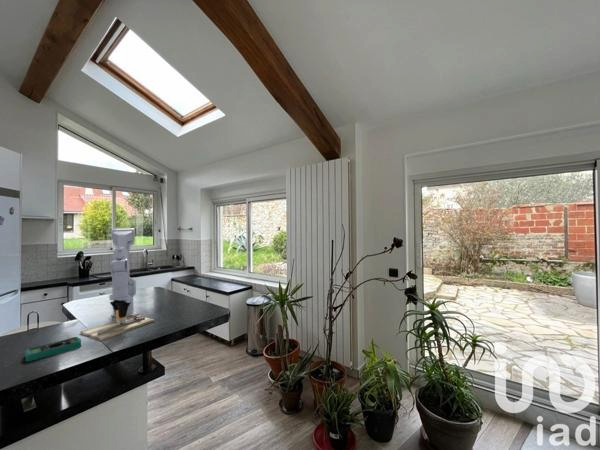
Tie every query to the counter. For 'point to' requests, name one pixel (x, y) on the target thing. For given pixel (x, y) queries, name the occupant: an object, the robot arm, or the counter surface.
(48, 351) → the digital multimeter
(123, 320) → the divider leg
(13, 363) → the counter surface
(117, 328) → the hole gauge board
